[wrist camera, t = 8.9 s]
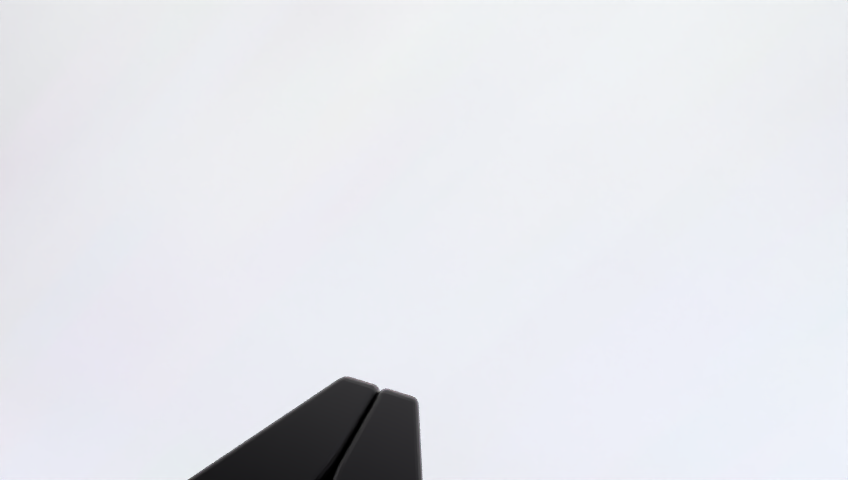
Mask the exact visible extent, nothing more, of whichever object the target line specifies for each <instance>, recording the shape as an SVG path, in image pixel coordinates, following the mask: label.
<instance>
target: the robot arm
mask: <svg viewBox="0 0 848 480" xmlns="http://www.w3.org/2000/svg"><path fill="white" fill-rule="evenodd" d="M188 480H422V461H421V442H420V423H419V405H418V401H417V399H416V398H415V397H413V396H410V395H406V394H403V393H400V392H397V391H394V390H390V389H383V390H381V391H379V388H378V387H377V386H376V385H374V384H371V383H368V382H365V381H362V380H358V379H355V378H352V377H342V378H340V379H338V380H337V381H335V382H334V383H332V384H331V385H329V386H328V387H326V388H325V389H323V390H322V391H320V392H319V393H317V394H316V395H314V396H313V397H311V398H310V399H308V400H307V401H305V402H304V403H302V404H301V405H299V406H298V407H296V408H295V409H293V410H292V411H290V412H289V413H287V414H286V415H284V416H283V417H281V418H280V419H278V420H277V421H275V422H274V423H272V424H271V425H269V426H268V427H266V428H265V429H263V430H262V431H260V432H259V433H257V434H256V435H254V436H253V437H251V438H250V439H248V440H247V441H245V442H244V443H242V444H241V445H239V446H238V447H236V448H235V449H233V450H232V451H230V452H229V453H227V454H226V455H224V456H223V457H221V458H220V459H218V460H217V461H215V462H214V463H212V464H211V465H209V466H208V467H206V468H205V469H203V470H202V471H200V472H199V473H197V474H196V475H194V476H193V477H191V478H190V479H188Z"/></svg>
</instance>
